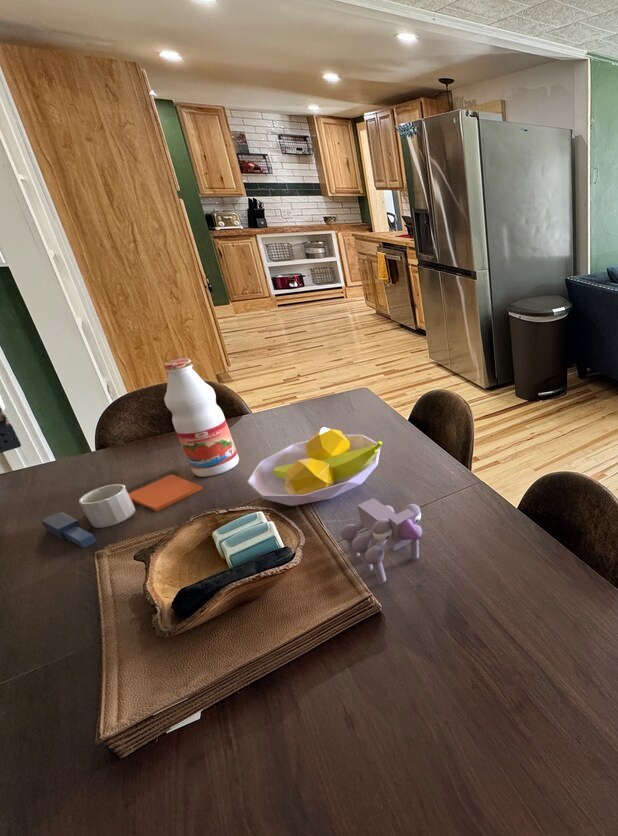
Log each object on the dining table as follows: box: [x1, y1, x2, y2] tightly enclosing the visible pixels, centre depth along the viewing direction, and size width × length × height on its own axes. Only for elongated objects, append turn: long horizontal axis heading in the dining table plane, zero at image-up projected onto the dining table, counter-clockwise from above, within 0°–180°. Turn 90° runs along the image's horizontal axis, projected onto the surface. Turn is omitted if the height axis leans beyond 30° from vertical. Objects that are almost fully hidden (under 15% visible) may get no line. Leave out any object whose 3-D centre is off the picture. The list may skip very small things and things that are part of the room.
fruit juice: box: [163, 358, 240, 478], centre depth 112 cm, size 9×9×28 cm
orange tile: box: [128, 474, 203, 512], centre depth 107 cm, size 9×12×1 cm
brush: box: [40, 511, 98, 549], centre depth 94 cm, size 3×14×3 cm, turn 66°
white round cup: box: [78, 483, 137, 529], centre depth 99 cm, size 7×7×6 cm
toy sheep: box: [339, 497, 423, 585], centre depth 84 cm, size 20×11×14 cm, turn 53°
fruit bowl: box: [246, 427, 384, 507], centre depth 109 cm, size 28×27×11 cm
